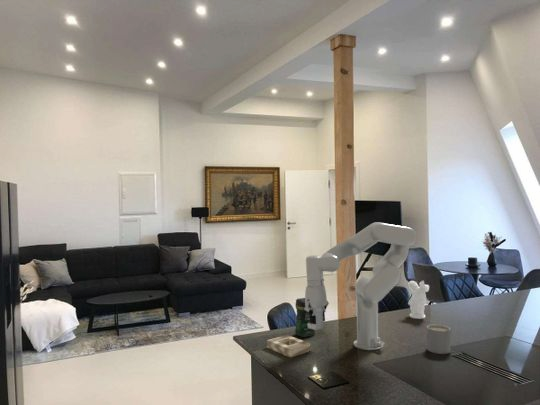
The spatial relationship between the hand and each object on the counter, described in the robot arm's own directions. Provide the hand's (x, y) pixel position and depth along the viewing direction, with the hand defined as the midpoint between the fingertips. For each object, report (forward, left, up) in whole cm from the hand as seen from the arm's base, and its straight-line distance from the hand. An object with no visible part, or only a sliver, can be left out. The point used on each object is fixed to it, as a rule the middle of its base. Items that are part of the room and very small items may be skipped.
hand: (317, 321), depth 195 cm
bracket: (+1, 0, -3) cm, 3 cm away
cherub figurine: (-2, -81, -12) cm, 82 cm away
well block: (+7, +12, -12) cm, 18 cm away
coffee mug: (-37, -41, -12) cm, 57 cm away
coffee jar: (+17, -8, -12) cm, 22 cm away
